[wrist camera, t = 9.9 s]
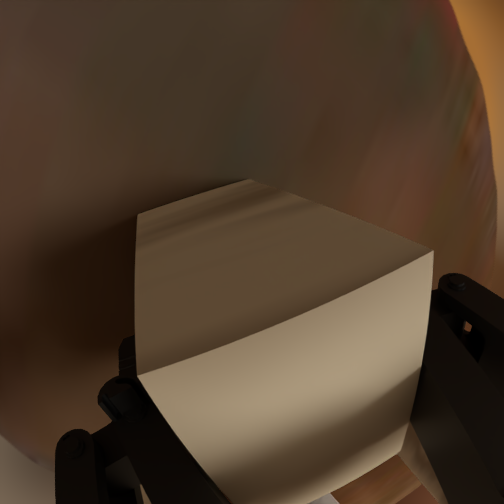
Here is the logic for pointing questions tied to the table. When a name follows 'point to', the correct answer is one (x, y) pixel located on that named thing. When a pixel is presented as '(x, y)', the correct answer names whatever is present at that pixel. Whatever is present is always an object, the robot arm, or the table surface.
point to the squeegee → (279, 338)
